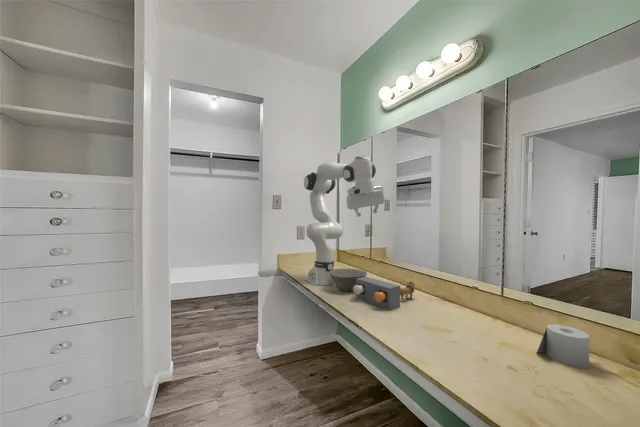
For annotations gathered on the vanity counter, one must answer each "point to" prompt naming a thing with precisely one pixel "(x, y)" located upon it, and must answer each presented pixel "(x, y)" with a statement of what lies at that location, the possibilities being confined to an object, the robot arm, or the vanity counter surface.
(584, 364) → the toilet tissue
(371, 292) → the control box
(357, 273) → the ceramic bowl
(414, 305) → the vanity counter surface
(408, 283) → the lion figurine
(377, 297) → the button orange
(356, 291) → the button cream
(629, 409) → the vanity counter surface
